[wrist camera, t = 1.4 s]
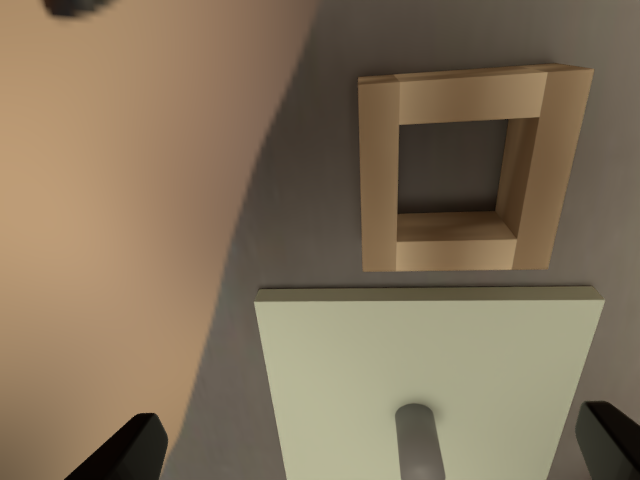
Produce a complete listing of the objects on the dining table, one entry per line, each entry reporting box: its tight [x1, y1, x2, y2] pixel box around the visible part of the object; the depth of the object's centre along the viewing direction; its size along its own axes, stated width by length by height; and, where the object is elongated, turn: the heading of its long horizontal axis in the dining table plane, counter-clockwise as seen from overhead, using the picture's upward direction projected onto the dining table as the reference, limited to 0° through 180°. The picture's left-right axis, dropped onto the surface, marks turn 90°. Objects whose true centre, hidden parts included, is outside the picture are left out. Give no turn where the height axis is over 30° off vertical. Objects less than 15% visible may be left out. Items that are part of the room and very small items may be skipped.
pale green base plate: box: [254, 286, 605, 480], centre depth 23 cm, size 18×18×5 cm
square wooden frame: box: [358, 63, 594, 272], centre depth 17 cm, size 8×8×3 cm
